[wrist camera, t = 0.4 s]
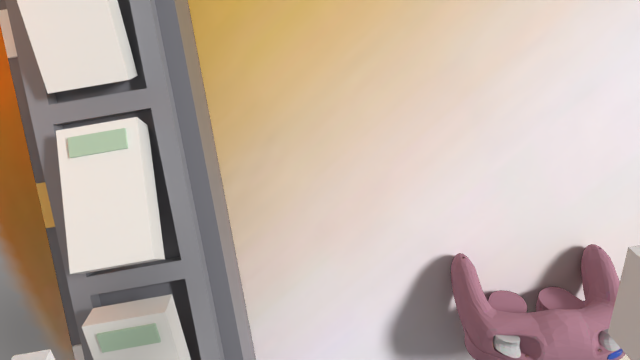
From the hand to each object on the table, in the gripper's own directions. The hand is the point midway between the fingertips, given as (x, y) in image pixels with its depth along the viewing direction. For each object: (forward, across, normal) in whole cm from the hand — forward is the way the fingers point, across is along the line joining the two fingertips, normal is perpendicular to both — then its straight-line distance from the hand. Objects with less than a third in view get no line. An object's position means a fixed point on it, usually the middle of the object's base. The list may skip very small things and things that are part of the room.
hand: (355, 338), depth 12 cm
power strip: (+20, +9, +6) cm, 23 cm away
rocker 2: (+15, +10, +3) cm, 18 cm away
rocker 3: (+11, +9, +11) cm, 18 cm away
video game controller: (+15, -13, +14) cm, 25 cm away
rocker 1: (+18, +10, -5) cm, 22 cm away
